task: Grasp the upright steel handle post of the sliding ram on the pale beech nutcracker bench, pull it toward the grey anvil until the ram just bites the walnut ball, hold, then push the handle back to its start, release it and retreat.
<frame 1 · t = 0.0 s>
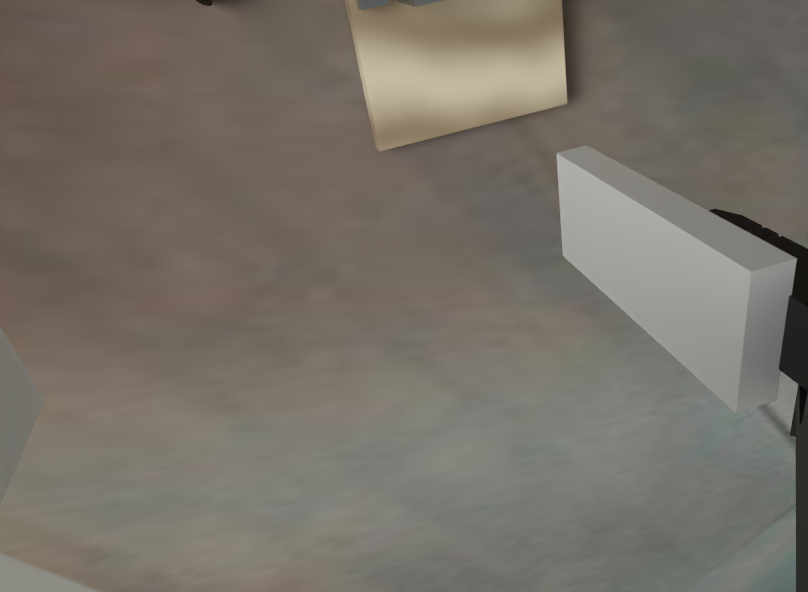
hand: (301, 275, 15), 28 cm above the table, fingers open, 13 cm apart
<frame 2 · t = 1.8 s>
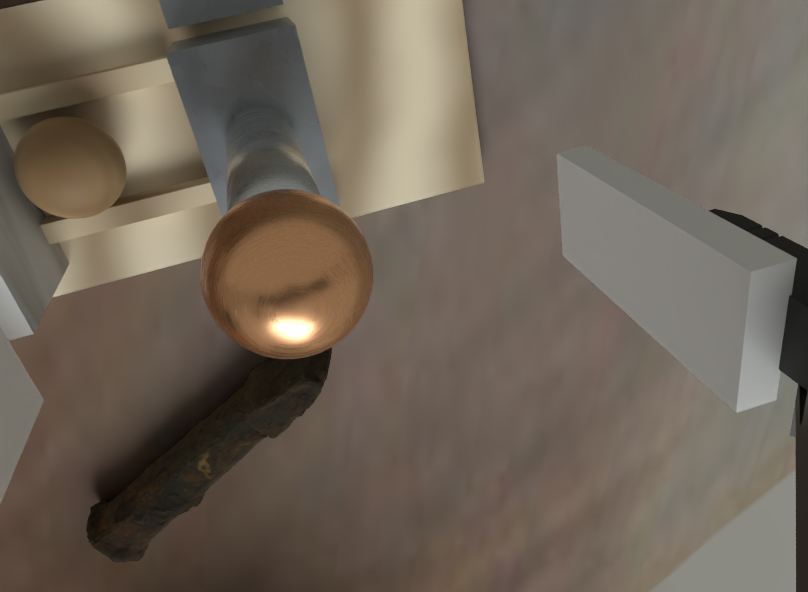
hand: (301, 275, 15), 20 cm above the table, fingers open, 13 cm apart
walnut: (81, 155, 30), point 1 cm above the table, touching bench
ram: (268, 175, 22), point 12 cm above the table, slide at 0.0 cm
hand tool: (210, 416, 41), on the table
bench: (195, 121, 32), on the table
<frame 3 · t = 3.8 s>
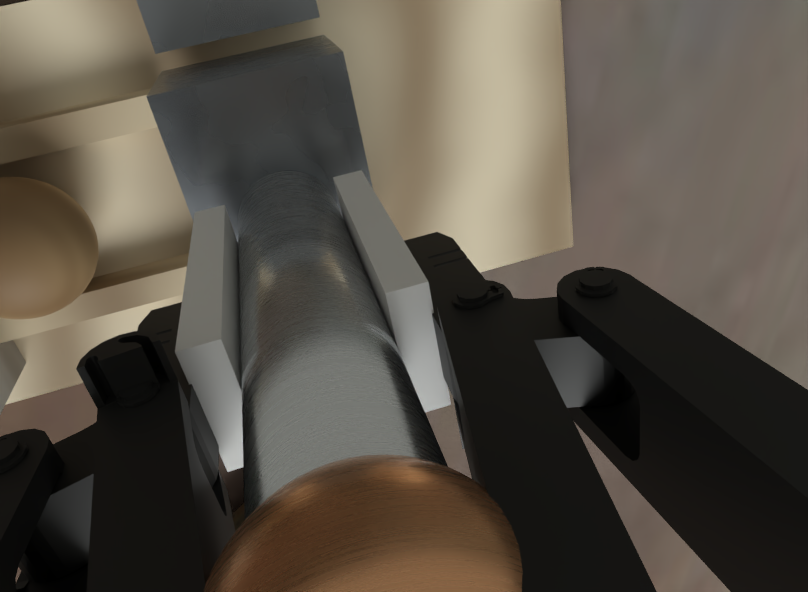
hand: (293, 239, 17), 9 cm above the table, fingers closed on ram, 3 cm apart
walnut: (38, 223, 22), point 1 cm above the table, touching bench
ram: (306, 298, 14), point 12 cm above the table, slide at 0.0 cm, touching gripper
bench: (195, 172, 24), on the table
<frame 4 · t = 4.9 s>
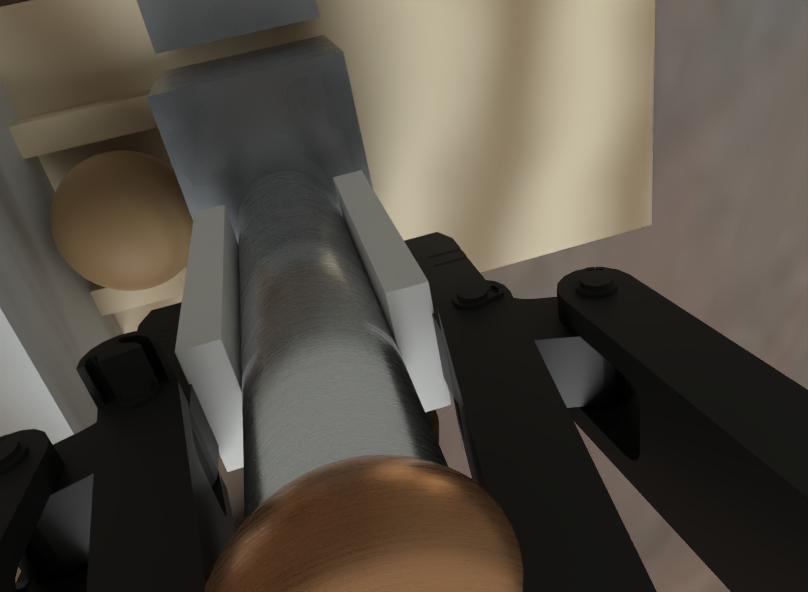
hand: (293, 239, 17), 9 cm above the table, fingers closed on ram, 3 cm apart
walnut: (145, 197, 22), point 2 cm above the table, tilted 7°, touching bench
ram: (306, 299, 14), point 12 cm above the table, slide at 3.7 cm, touching gripper
bench: (291, 148, 24), on the table
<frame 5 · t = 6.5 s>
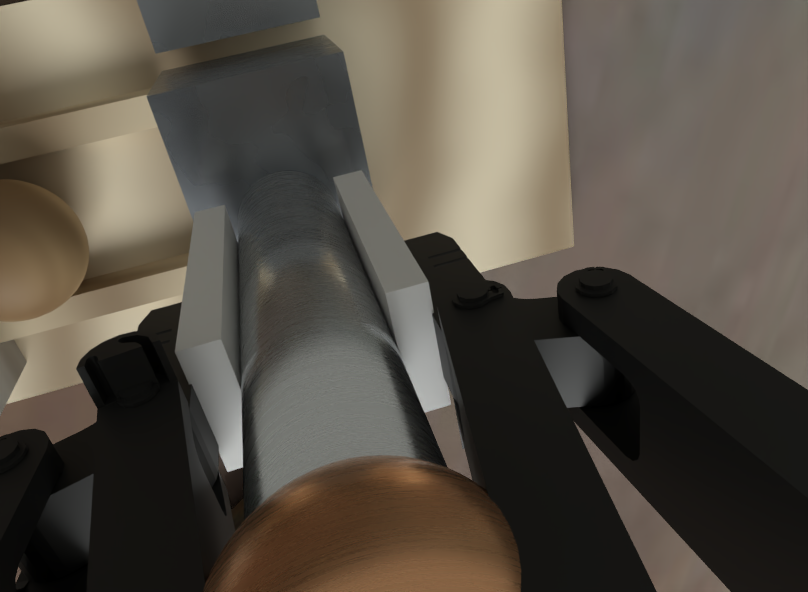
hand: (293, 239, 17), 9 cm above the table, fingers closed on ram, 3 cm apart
walnut: (39, 223, 22), point 2 cm above the table, tilted 9°, touching bench
ram: (306, 299, 14), point 12 cm above the table, slide at 0.0 cm, touching gripper
bench: (196, 172, 24), on the table
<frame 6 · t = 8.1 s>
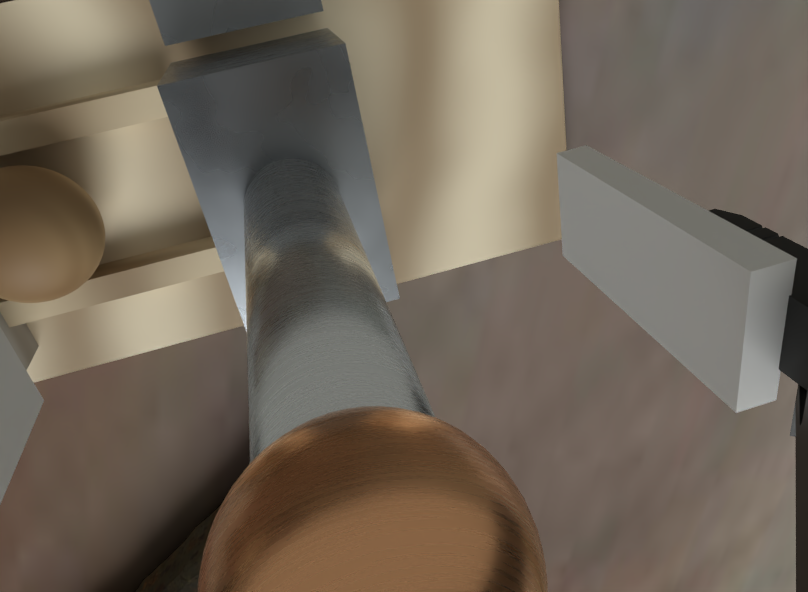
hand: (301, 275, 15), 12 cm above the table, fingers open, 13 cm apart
walnut: (51, 210, 23), point 2 cm above the table, touching bench
ram: (309, 278, 15), point 12 cm above the table, slide at 0.0 cm
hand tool: (215, 510, 33), on the table
bench: (203, 162, 24), on the table
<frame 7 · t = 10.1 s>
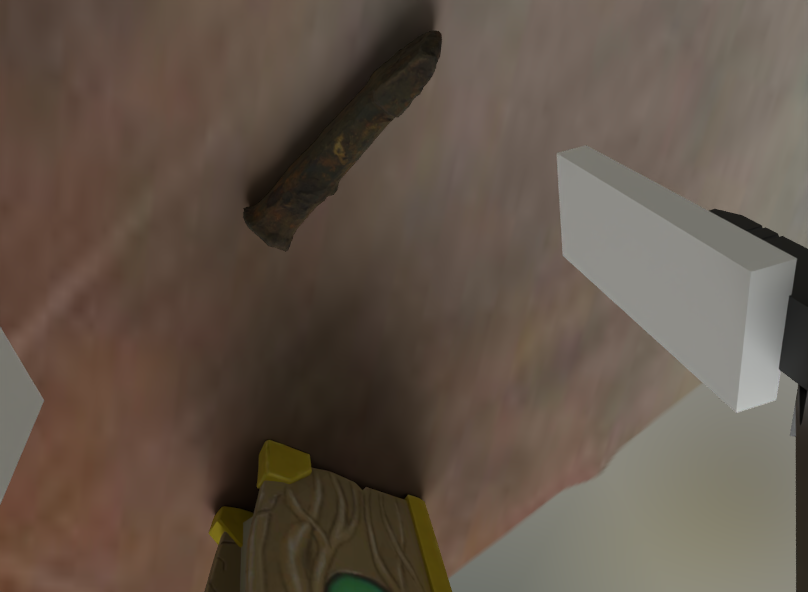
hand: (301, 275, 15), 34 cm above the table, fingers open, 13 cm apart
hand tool: (337, 126, 47), on the table
decorative book: (320, 503, 64), on the table
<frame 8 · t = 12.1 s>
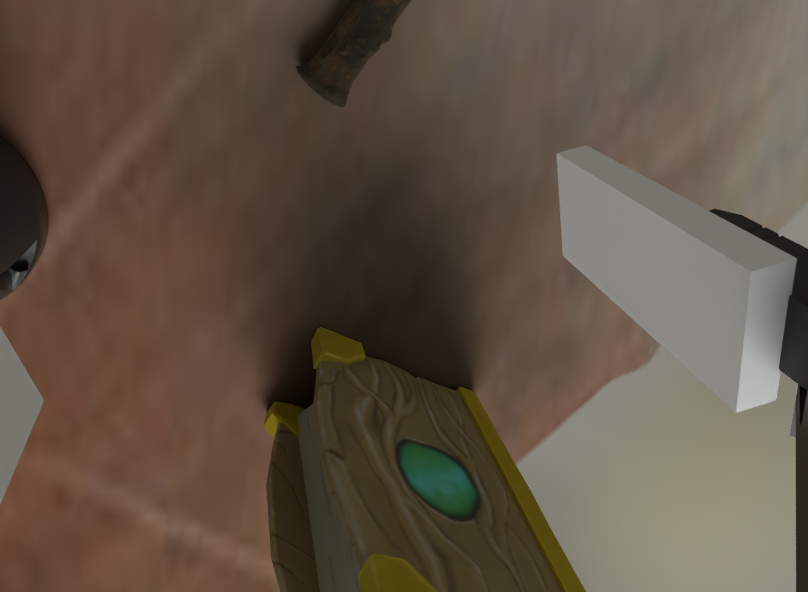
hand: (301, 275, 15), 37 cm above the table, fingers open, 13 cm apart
decorative book: (372, 398, 63), on the table
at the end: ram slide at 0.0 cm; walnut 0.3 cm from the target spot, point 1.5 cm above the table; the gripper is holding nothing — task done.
